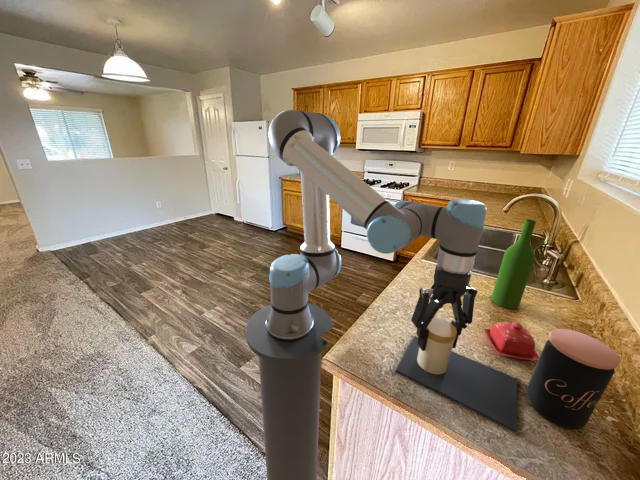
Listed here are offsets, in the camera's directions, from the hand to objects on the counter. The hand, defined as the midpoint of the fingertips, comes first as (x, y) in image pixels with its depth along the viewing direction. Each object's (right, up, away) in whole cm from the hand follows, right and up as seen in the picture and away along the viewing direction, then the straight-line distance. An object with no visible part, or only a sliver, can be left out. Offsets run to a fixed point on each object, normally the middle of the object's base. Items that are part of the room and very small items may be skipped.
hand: (436, 345), depth 69 cm
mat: (+5, -8, -1) cm, 9 cm away
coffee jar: (+23, -11, -8) cm, 27 cm away
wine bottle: (+40, +4, +32) cm, 52 cm away
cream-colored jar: (0, -6, +2) cm, 6 cm away
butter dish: (+26, -5, +10) cm, 28 cm away
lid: (0, +5, -2) cm, 6 cm away
